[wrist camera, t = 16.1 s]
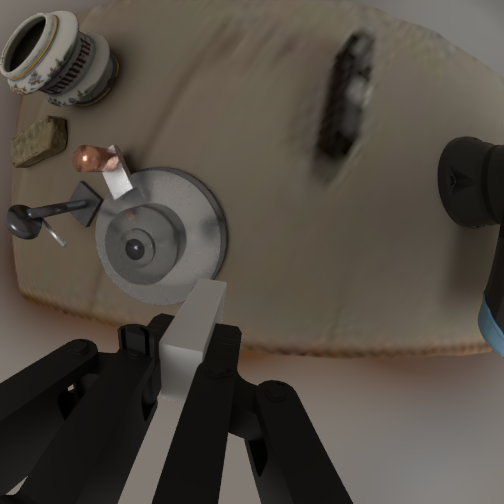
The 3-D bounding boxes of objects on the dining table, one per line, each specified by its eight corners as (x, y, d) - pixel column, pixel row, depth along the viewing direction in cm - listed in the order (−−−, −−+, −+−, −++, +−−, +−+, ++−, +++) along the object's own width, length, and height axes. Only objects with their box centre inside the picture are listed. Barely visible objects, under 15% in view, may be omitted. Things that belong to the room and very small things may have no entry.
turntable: (168, 117, 31) (142, 99, 23) (246, 269, 36) (242, 295, 27) (70, 186, 33) (33, 190, 25) (139, 318, 38) (115, 348, 30)
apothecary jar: (108, 116, 32) (25, 88, 15) (56, 110, 32) (-21, 93, 14) (137, 47, 30) (77, -10, 12) (82, 47, 29) (19, 10, 11)
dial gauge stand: (116, 212, 36) (44, 232, 20) (101, 238, 37) (31, 269, 21) (83, 181, 35) (8, 187, 19) (69, 207, 36) (-4, 224, 20)
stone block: (25, 140, 33) (8, 138, 28) (68, 116, 32) (50, 111, 28) (27, 169, 34) (9, 170, 29) (70, 148, 34) (51, 146, 29)
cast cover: (167, 190, 32) (148, 193, 26) (199, 254, 34) (187, 270, 28) (112, 222, 33) (89, 231, 27) (143, 281, 35) (125, 299, 29)
